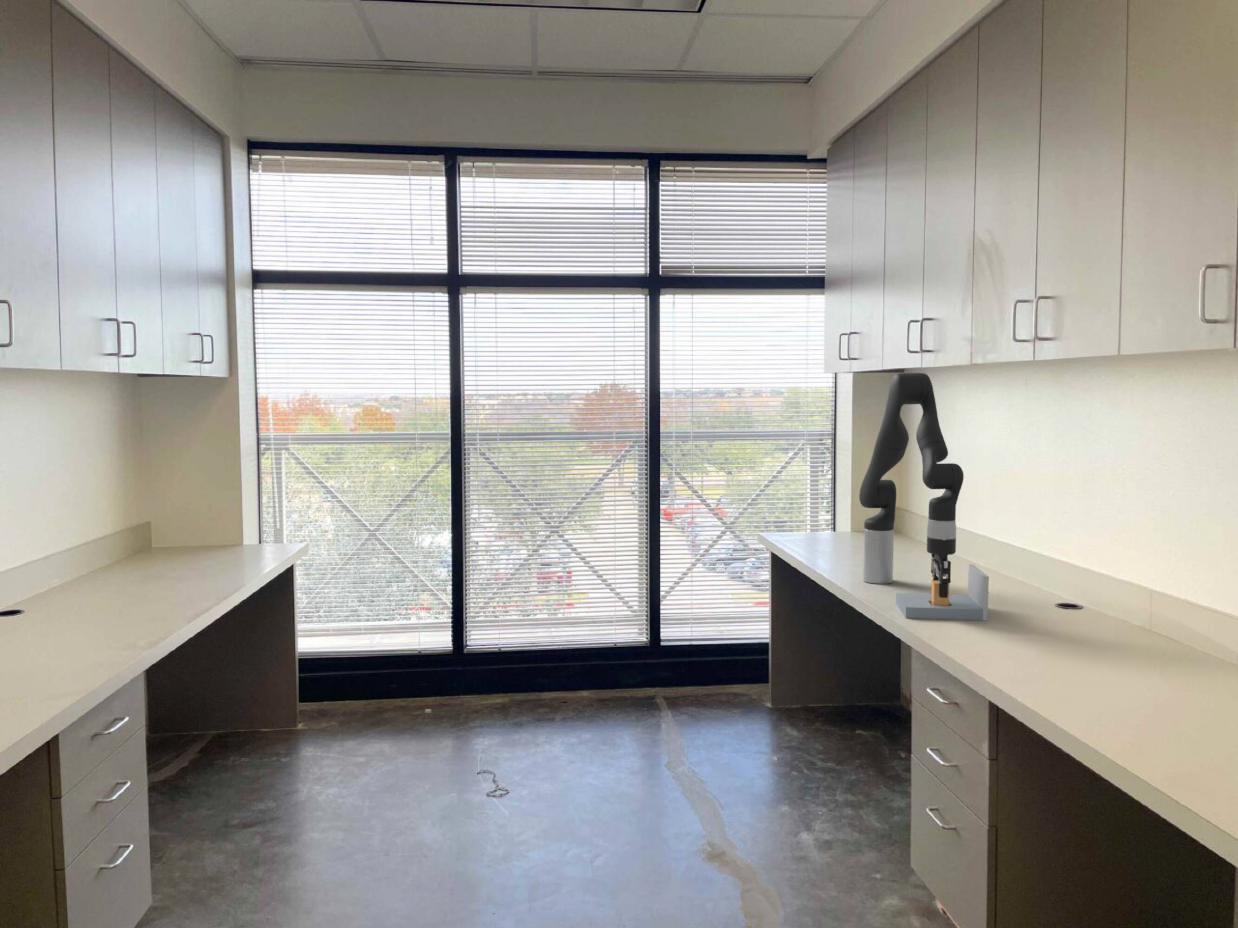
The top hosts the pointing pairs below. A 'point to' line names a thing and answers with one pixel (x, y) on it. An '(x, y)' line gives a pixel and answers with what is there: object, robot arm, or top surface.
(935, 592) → the block
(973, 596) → the grey slotted stand
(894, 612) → the top surface
